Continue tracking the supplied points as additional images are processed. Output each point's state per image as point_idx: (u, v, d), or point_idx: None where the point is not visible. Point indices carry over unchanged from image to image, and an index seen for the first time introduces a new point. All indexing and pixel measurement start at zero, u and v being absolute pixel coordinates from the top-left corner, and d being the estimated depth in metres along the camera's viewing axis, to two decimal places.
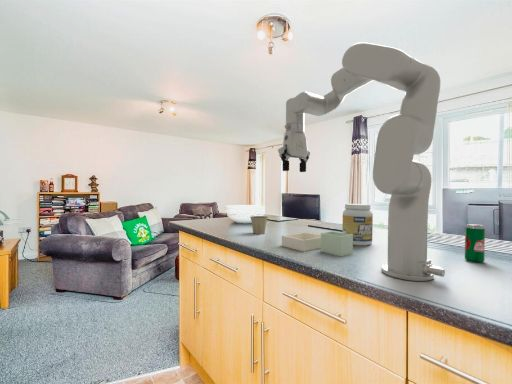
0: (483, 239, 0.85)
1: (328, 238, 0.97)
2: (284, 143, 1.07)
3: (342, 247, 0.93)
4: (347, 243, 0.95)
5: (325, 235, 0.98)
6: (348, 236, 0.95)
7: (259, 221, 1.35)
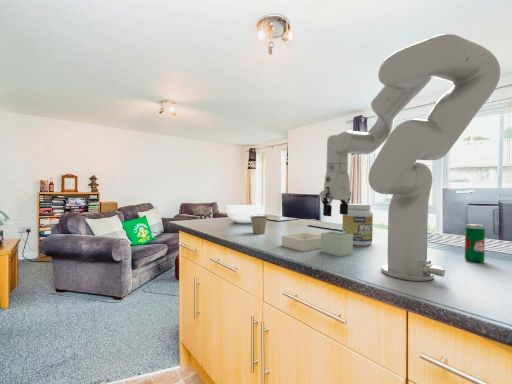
0: (483, 239, 0.85)
1: (328, 238, 0.97)
2: (326, 185, 0.96)
3: (342, 247, 0.93)
4: (347, 243, 0.95)
5: (325, 235, 0.98)
6: (348, 236, 0.95)
7: (259, 221, 1.35)
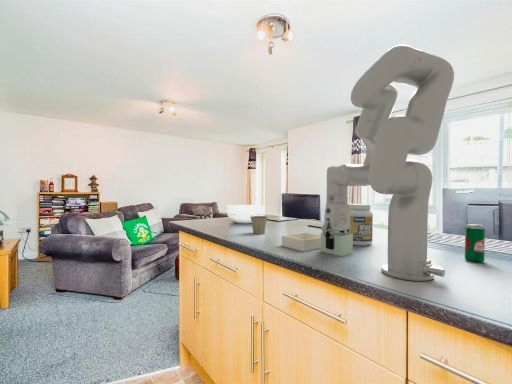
0: (483, 239, 0.85)
1: None
2: (326, 216, 0.96)
3: (342, 247, 0.93)
4: (347, 242, 0.95)
5: None
6: (348, 236, 0.95)
7: (259, 221, 1.35)
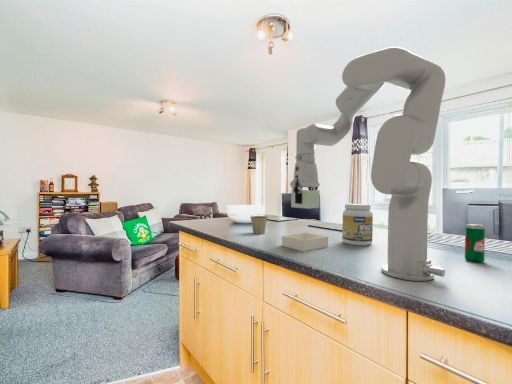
0: (483, 239, 0.85)
1: None
2: (295, 174, 1.06)
3: (309, 200, 1.03)
4: (313, 197, 1.05)
5: None
6: (315, 191, 1.05)
7: (259, 221, 1.35)
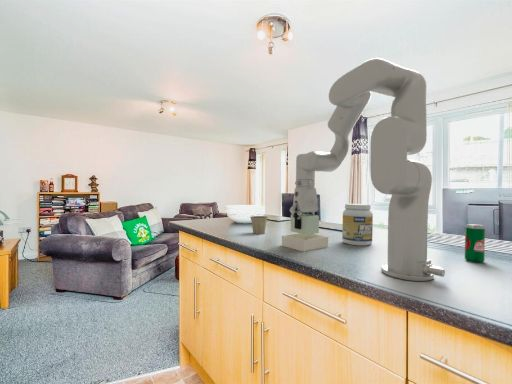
0: (483, 239, 0.85)
1: None
2: (294, 199, 1.06)
3: (308, 226, 1.04)
4: (313, 222, 1.05)
5: None
6: (314, 217, 1.06)
7: (259, 221, 1.35)
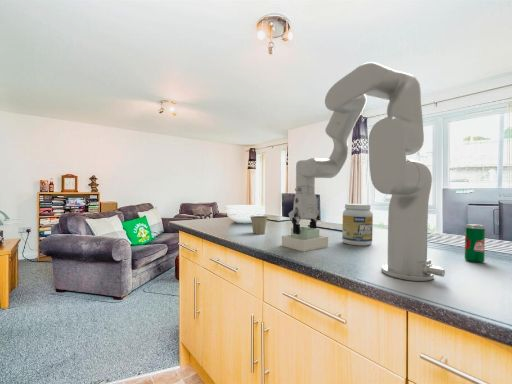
0: (483, 239, 0.85)
1: None
2: (294, 205, 1.06)
3: None
4: (313, 236, 1.05)
5: None
6: (314, 230, 1.05)
7: (259, 221, 1.35)
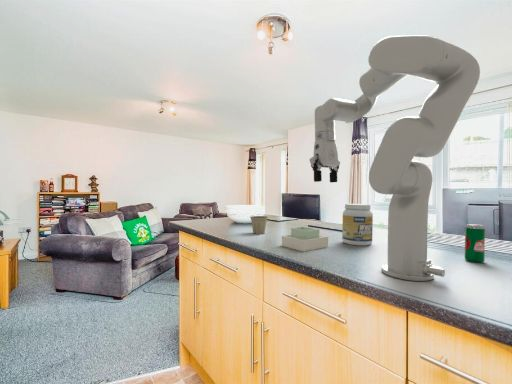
0: (483, 239, 0.85)
1: (297, 232, 1.07)
2: (315, 152, 1.01)
3: None
4: (313, 236, 1.05)
5: (294, 230, 1.08)
6: (314, 230, 1.05)
7: (259, 221, 1.35)
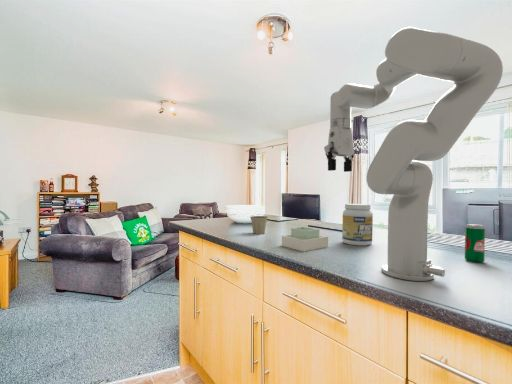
0: (483, 239, 0.85)
1: (297, 232, 1.07)
2: (330, 140, 0.98)
3: None
4: (313, 236, 1.05)
5: (294, 230, 1.08)
6: (314, 230, 1.05)
7: (259, 221, 1.35)
